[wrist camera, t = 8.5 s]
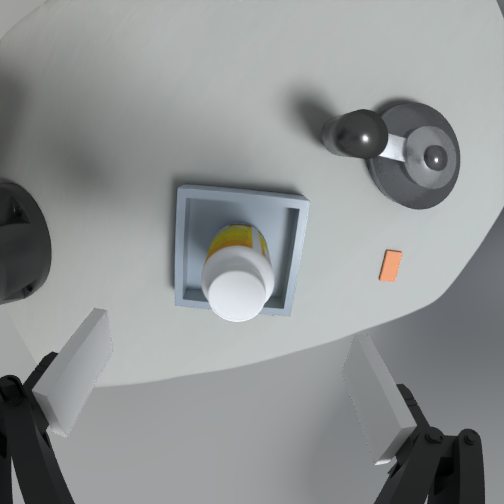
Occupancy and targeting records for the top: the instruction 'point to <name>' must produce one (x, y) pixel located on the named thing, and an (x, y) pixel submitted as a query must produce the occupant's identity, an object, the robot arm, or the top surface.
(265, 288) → the supplement bottle
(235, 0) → the top surface
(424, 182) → the crank
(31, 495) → the robot arm
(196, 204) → the tray
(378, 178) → the crank housing
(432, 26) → the top surface
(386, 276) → the orange flat block
